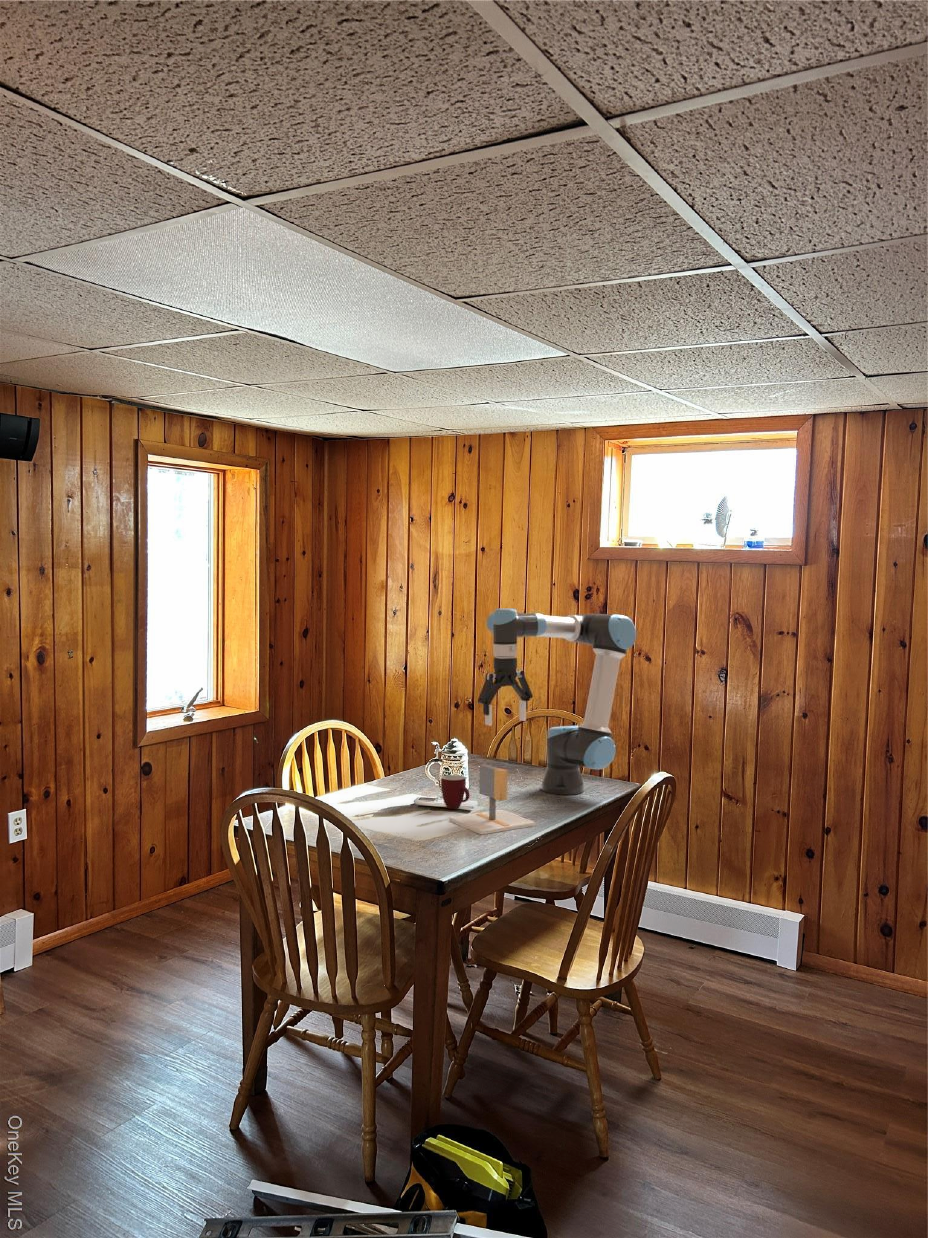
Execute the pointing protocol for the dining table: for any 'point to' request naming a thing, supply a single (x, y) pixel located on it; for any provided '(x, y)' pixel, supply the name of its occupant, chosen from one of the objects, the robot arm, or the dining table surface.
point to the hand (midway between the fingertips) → (505, 723)
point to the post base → (492, 820)
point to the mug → (454, 790)
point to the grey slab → (493, 782)
